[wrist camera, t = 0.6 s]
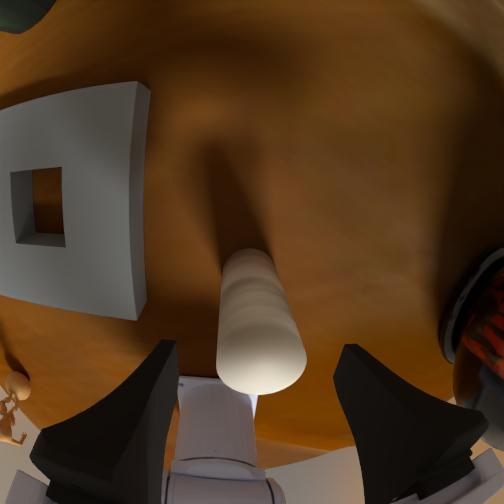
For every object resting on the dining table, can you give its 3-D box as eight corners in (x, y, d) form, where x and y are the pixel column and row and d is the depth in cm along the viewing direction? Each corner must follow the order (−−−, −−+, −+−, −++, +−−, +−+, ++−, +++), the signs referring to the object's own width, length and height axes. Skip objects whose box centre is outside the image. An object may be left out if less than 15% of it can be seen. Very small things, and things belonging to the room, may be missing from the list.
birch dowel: (272, 298, 22) (297, 393, 12) (221, 295, 21) (215, 393, 12) (278, 250, 20) (315, 331, 11) (224, 246, 20) (217, 328, 11)
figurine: (1, 351, 23) (-41, 408, 12) (25, 354, 23) (-20, 419, 12) (31, 396, 26) (0, 453, 14) (57, 401, 26) (26, 466, 14)
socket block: (147, 300, 21) (137, 320, 18) (11, 280, 20) (-6, 293, 17) (151, 90, 16) (137, 80, 13) (0, 118, 14) (-20, 118, 11)
